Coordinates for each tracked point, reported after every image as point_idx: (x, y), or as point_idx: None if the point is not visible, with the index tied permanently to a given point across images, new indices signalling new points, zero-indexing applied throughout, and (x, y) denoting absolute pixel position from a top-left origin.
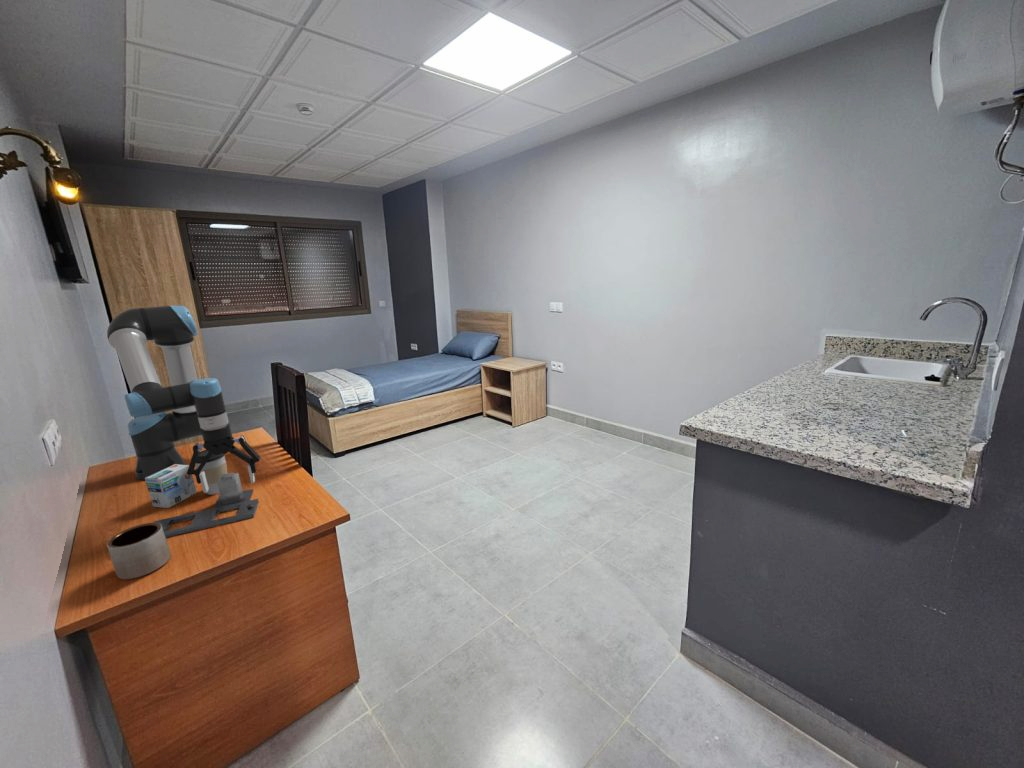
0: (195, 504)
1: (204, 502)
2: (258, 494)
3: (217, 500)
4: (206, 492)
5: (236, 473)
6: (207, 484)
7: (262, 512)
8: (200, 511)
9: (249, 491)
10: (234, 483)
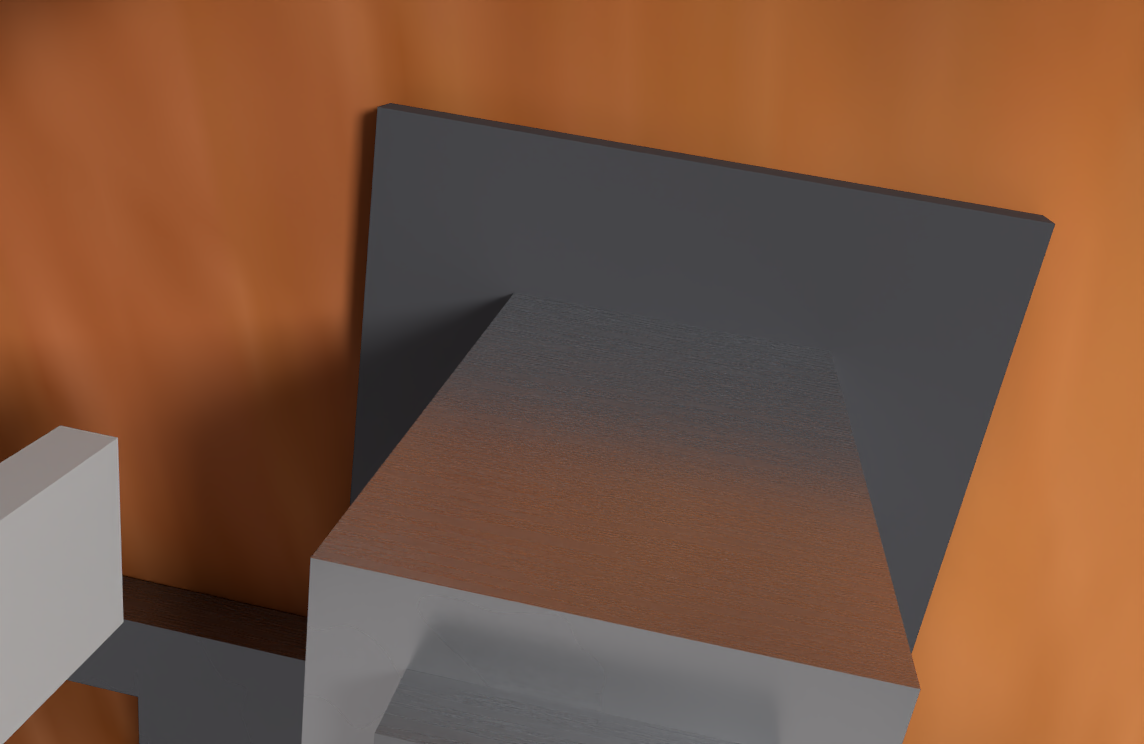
0: (8, 124)
1: (147, 144)
2: (1094, 488)
3: (369, 315)
4: (115, 624)
5: (856, 691)
6: (21, 523)
7: None
8: (177, 639)
9: (962, 314)
10: None
